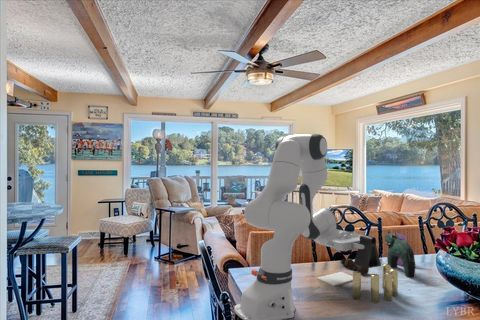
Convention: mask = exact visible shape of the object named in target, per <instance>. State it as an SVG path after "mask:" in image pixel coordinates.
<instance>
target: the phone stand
mask: <svg viewBox="0 0 480 320" xmlns="http://www.w3.org/2000/svg"><path fill="white" fill-rule="evenodd" d="M360 235H361V236H360V243H359V244H361V245H364V246H365V247H364V249H356V255H355V258H354V260H353V262H354V264H355V265H358V266H360V267H363V268H365V269H366V268H369V269H370V268H377V267H379V268H380V267H382V263H381V259H380V256H379V251H378V246H377V238H376V237H374V236H370V235H366V234H360Z"/></svg>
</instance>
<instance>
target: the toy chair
mask: <svg viewBox="0 0 480 320" xmlns="http://www.w3.org/2000/svg"><path fill="white" fill-rule="evenodd" d="M396 234H397V235H398V237H399V239H404V240H406V241H407V242H408V238H407V236H406V235H404V234H401V233H396ZM397 266H404V265H403V261H402V260H401V258H399V259H398V262H397Z"/></svg>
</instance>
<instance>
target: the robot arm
mask: <svg viewBox="0 0 480 320" xmlns="http://www.w3.org/2000/svg"><path fill="white" fill-rule="evenodd" d="M274 146H275V151H274V152H275V153H274V155H273V159H272V163H271V167H270V171H269V175H268V179H267V181H266V184H265V185H264V187H263V189H262V191H261V192H259V194H257V196H256V197H255V198H253V199H251V200H250V201H248V203H247V204H246V205H245V208H244V212H243V215H244V218H245V221H246V223H247V224H248V225H249V226H252V227H255V228H257V229H261V230H269V231H273V237H272V238H271V239H269V240H267V241H265V242H264V243H263V244H262V246H261V247H260V267H259V269H258V270H256V269H254V268H253V269H252V270H251V272H250V273H251V276H254V277H256V279H255V280H253V282H252V283H251V284H250V285H249V286H248V287H247V288H246V289H245V290H243V291H242V293H241V297H240V303H238V304H236V305H234V307H233V311H234V313H235V314H236V315H237V316H238V317H239V318H240V319H242V320H287V319H292V318H294V317H295V313H294V312H295V310H296V304H295V302H294V296H293V290H292V289H293V287H292V281H293V269H292V253H293V252H292V251H293V247H294V244H295V241H296V240H297V238H299V236H300V235H301V236H302V237H303V238H305V239H307V240H310V241H311V240H312V241H313V242H315V243H317V244H319V245H322V246H324V247H328V248H329V247H330V248H332V249H334V250H335V251H339V252H346V251H352V250H353V251H354V250H358V249H364V247H365V246H364V245H361V244H359V243H360V236H361V235H362V234H358V233H357V232H355V231H349V230H348V231H347V230H342V229H337V227H338V226H337V218H336V215H335V213H334V212H333V211H332V210H330V209H329V208H326V207H322V208H320V209H318V210H316V211H315V212H314V210H313V209H314V208H313V206H314V205H313V204H314V198H315V197H316V195H317V193H319V190H321V188H322V187H324V185H325V184H326V182H327V181H328V180H327V179H328V169H327V163H326V160H325V156H326V155H327V151H328V142H327V139H326V138H325V137H324V136H323V134H318V133H313V134H310V133H309V134H307V133H306V134H302V133H299V134H298V133H296V134H291V135H290V134H289V135H283V136H280V137H279V138H278V139H277V141H276V143H275V145H274ZM300 170H301V171H300ZM300 172H301V182H300V186H299V188H298V201H299V203H298V202H296V201H295V202H294V201H284V200H283V199H284V198H285V197H286V196H287V195H289V194H292V193H293V192H294V191H295V190H296V189H297V187H298V183H299V178H300Z"/></svg>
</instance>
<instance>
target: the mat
mask: <svg viewBox="0 0 480 320" xmlns="http://www.w3.org/2000/svg"><path fill="white" fill-rule="evenodd" d="M316 280H319V281H321V282H323V283H325V284H328V285H329V286H332V287H335V286H339V285H343V284H348V283H350V282H353V275H351V274H349V273H346V272H343V271H338V272H333V273H330V274H326V275H322V276H318V277H316Z"/></svg>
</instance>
